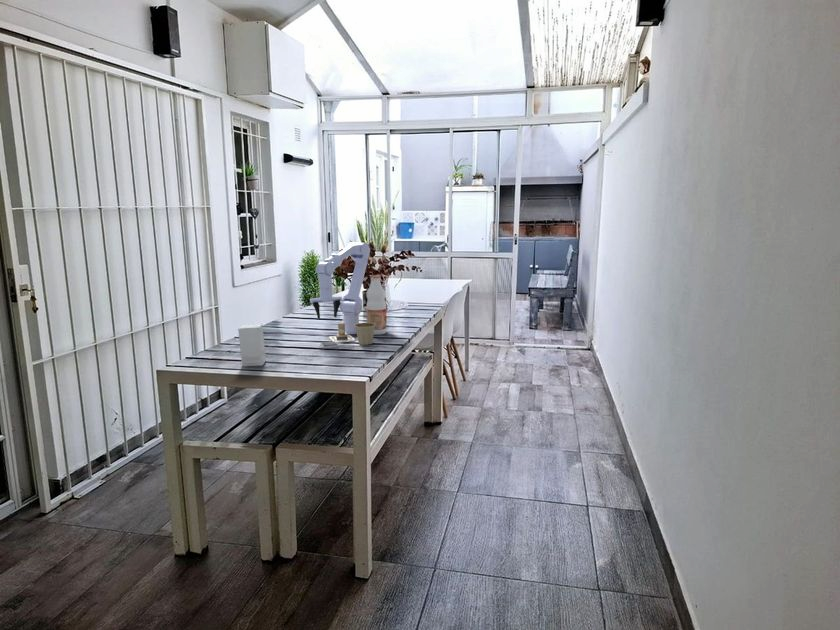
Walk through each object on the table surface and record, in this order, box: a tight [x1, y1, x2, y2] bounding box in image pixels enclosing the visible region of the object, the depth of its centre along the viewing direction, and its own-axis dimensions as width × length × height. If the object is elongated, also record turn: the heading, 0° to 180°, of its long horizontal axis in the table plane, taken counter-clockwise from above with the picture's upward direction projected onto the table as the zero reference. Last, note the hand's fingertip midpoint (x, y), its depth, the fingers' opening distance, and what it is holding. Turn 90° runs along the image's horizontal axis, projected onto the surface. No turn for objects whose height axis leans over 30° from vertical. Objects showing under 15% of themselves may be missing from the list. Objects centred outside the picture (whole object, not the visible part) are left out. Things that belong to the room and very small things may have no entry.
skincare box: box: [237, 323, 267, 367], centre depth 222 cm, size 8×7×16 cm
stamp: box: [335, 322, 348, 340], centre depth 261 cm, size 5×5×7 cm
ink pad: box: [320, 341, 339, 349], centre depth 251 cm, size 7×7×1 cm
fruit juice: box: [366, 274, 388, 336], centre depth 272 cm, size 9×9×28 cm
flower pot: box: [354, 322, 376, 346], centre depth 254 cm, size 9×9×9 cm
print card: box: [328, 334, 357, 344], centre depth 262 cm, size 11×10×1 cm
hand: (327, 317), depth 260 cm, fingers open, 7 cm apart
